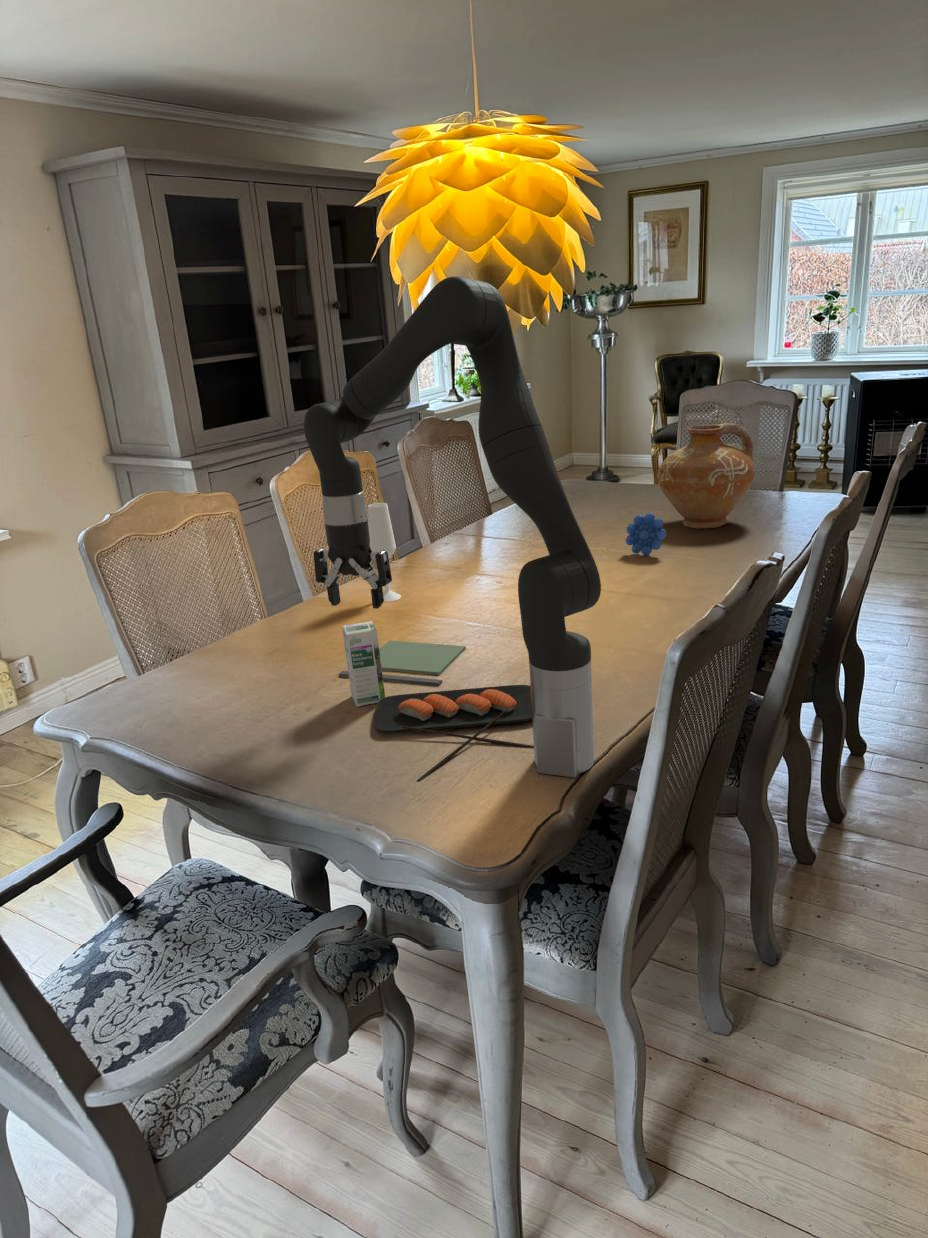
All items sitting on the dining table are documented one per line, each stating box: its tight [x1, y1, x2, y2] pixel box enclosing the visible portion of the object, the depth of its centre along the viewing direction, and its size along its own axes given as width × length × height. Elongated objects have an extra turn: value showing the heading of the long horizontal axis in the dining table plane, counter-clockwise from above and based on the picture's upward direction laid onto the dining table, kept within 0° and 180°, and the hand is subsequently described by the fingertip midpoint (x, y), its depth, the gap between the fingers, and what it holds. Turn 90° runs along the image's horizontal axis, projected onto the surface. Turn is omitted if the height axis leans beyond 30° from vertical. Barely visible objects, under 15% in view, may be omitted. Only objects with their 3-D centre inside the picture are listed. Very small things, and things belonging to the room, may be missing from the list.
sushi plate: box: [373, 684, 534, 783], centre depth 145 cm, size 29×30×4 cm
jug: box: [656, 422, 755, 530], centre depth 258 cm, size 28×28×30 cm
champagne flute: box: [367, 502, 402, 603], centre depth 215 cm, size 7×7×24 cm
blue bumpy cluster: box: [625, 512, 667, 556], centre depth 235 cm, size 12×7×12 cm, turn 56°
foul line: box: [338, 670, 443, 687], centre depth 169 cm, size 2×22×1 cm, turn 68°
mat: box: [379, 640, 467, 676], centre depth 179 cm, size 14×18×1 cm
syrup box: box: [341, 620, 386, 708], centre depth 159 cm, size 6×6×14 cm
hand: (356, 605), depth 155 cm, fingers open, 8 cm apart
